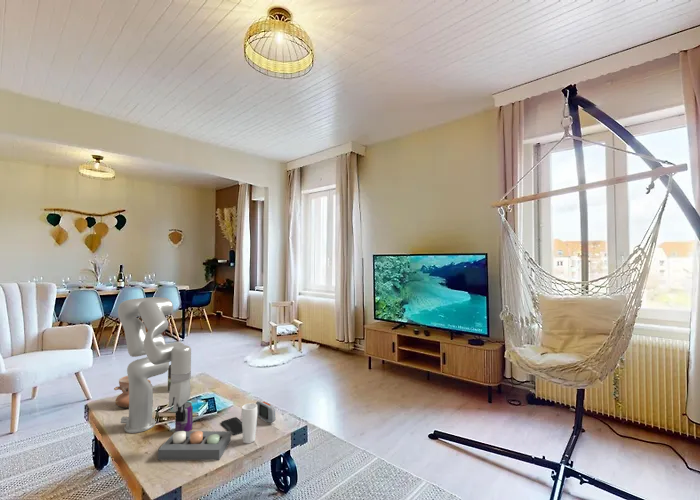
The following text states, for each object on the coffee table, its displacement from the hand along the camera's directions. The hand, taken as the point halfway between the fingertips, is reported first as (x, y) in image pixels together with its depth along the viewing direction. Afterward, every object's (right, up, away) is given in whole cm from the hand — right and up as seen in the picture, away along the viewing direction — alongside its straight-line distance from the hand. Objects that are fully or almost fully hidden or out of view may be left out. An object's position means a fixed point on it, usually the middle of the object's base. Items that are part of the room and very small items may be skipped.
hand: (180, 420), depth 142 cm
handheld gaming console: (+29, -13, +27) cm, 42 cm away
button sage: (+14, -11, 0) cm, 17 cm away
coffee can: (-33, -13, +62) cm, 72 cm away
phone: (+16, -13, +19) cm, 28 cm away
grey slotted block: (+7, -12, 0) cm, 14 cm away
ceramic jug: (-46, -12, +42) cm, 64 cm away
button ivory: (0, -9, 0) cm, 9 cm away
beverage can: (-6, -13, +15) cm, 20 cm away
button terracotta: (+7, -9, 0) cm, 12 cm away
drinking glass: (+26, -13, +8) cm, 30 cm away
